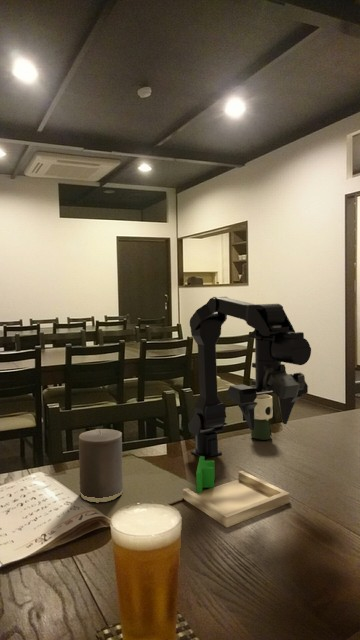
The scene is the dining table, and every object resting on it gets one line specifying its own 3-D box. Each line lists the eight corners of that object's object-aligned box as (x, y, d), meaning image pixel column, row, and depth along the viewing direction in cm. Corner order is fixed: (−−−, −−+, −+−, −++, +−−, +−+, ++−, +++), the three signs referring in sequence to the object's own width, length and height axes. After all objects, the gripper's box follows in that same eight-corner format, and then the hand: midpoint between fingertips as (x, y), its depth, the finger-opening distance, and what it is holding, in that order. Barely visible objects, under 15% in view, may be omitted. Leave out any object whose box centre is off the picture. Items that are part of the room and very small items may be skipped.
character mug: (267, 445, 130) (266, 401, 129) (244, 442, 133) (243, 399, 132) (277, 434, 139) (276, 393, 138) (255, 431, 142) (254, 392, 142)
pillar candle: (86, 507, 94) (85, 438, 94) (75, 490, 103) (73, 426, 102) (129, 497, 99) (128, 431, 98) (115, 481, 108) (113, 420, 107)
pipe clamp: (213, 493, 99) (212, 473, 99) (196, 493, 99) (196, 473, 99) (215, 473, 110) (214, 455, 110) (200, 473, 110) (199, 455, 110)
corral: (182, 498, 97) (182, 489, 97) (242, 478, 107) (242, 470, 107) (226, 527, 85) (226, 517, 85) (289, 502, 94) (289, 493, 94)
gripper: (254, 368, 89) (255, 444, 90) (325, 360, 97) (325, 430, 98) (225, 361, 99) (226, 429, 100) (291, 354, 107) (291, 417, 108)
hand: (268, 426), depth 101 cm, fingers open, 9 cm apart
